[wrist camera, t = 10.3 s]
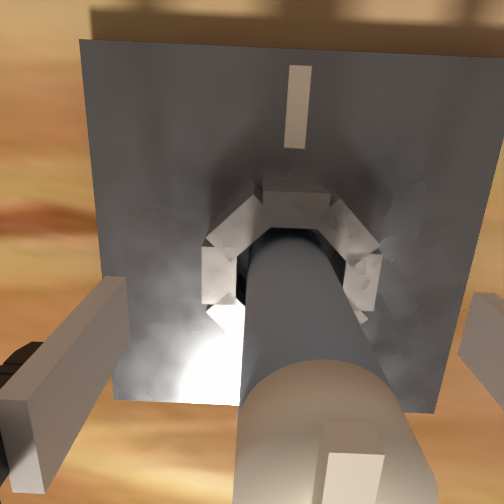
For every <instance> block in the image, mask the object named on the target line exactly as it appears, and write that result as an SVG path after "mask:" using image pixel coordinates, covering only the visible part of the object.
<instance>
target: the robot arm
mask: <svg viewBox="0 0 504 504" xmlns="http://www.w3.org/2000/svg"><path fill="white" fill-rule="evenodd" d="M130 340H131V339H130V326H129V312H128V299H127V286H126V277H117V276H105V277H104V278H103V279H102V280H101V281H100V282H99V283H98V285H97V286H96V287H95V288H94V289H93V290H92V291H91V292H90V293H89V294H88V295H87V296H86V297H85V299H84V300H83V301H82V302H81V303H80V304H79V305H78V306H77V307H76V308H75V309H74V310H73V311H72V313H71V314H70V315H69V316H68V317H67V318H66V319H65V320H64V321H63V322H62V323H61V324H60V325H59V327H58V328H57V329H56V330H55V331H54V332H53V333H52V334H51V335H50V336H49V337H48V338H47V339H46V341H45V342H30V343H29V344H27V345H25V346H23V347H22V348H20V349H18V350H16V351H15V352H14V353H13V354H12V355H11V356H10V357H9V358H8V359H7V360H6V361H5V362H4V363H3V365H1V366H0V486H1V485H2V483H3V482H4V481H5V479H6V478H7V476H8V475H9V478H10V482H11V487H12V491H13V492H14V493H37V494H45V493H46V491H47V489H48V487H49V485H50V484H51V482H52V480H53V478H54V477H55V475H56V473H57V471H58V469H59V468H60V466H61V464H62V462H63V460H64V459H65V457H66V455H67V453H68V451H69V450H70V448H71V446H72V444H73V442H74V441H75V439H76V437H77V435H78V433H79V432H80V430H81V428H82V426H83V425H84V423H85V421H86V419H87V417H88V416H89V414H90V412H91V410H92V408H93V407H94V405H95V403H96V401H97V399H98V398H99V396H100V394H101V392H102V390H103V389H104V387H105V385H106V383H107V381H108V380H109V378H110V376H111V374H112V372H113V371H114V369H115V367H116V365H117V364H118V362H119V360H120V358H121V356H122V355H123V353H124V351H125V349H126V347H127V346H128V344H129V342H130ZM458 355H459V357H460V358H461V359H462V360H463V361H464V363H465V364H466V365H467V366H468V367H469V369H470V370H471V371H472V372H473V374H474V375H475V376H476V377H477V378H478V380H479V381H480V382H481V383H482V384H483V386H484V387H485V388H486V389H487V390H488V392H489V393H490V394H491V395H492V397H493V398H494V399H495V400H496V401H497V403H498V404H499V405H500V406H501V407H502V409H503V410H504V300H503V299H501V298H500V297H499V296H497V295H496V294H495V293H482V292H474V294H473V298H472V301H471V305H470V309H469V313H468V317H467V321H466V324H465V328H464V332H463V336H462V340H461V343H460V347H459V351H458ZM0 504H1V502H0Z"/></svg>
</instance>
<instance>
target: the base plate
mask: <svg viewBox="0 0 504 504" xmlns="http://www.w3.org/2000/svg"><path fill="white" fill-rule="evenodd" d="M79 44H80V55H81V65H82V75H83V85H84V96H85V106H86V116H87V126H88V137H89V147H90V157H91V167H92V177H93V188H94V198H95V208H96V218H97V229H98V239H99V249H100V259H101V269H102V279H103V278H104V277H105V276H117V277H126V286H127V299H128V312H129V326H130V339H131V340H130V342H129V344H128V346H127V347H126V349H125V351H124V353H123V355H122V356H121V358H120V360H119V362H118V364H117V365H116V367H115V369H114V371H113V372H112V382H113V392H114V400H132V401H155V402H178V403H201V404H224V405H239V395H240V380H241V365H242V350H243V334H244V319H245V304H246V288H247V273H248V258H249V250H250V247H251V244H252V243H253V242H254V241H255V240H257V239H258V238H259V237H260V236H261V235H262V234H263V233H265V232H266V231H267V230H268V229H269V228H270V227H279V228H302V229H310V230H311V231H312V232H313V233H314V234H315V235H316V236H317V238H318V239H319V241H320V243H321V245H322V247H323V249H324V251H325V253H326V255H327V257H328V259H329V261H330V263H331V265H332V268H333V270H334V272H335V274H336V276H337V278H338V280H339V282H340V284H341V286H342V288H343V290H344V292H345V294H346V296H347V298H348V300H349V302H350V304H351V306H352V308H353V311H354V313H355V315H356V317H357V319H358V321H359V323H360V325H361V327H362V329H363V331H364V333H365V335H366V337H367V339H368V341H369V343H370V345H371V347H372V349H373V351H374V354H375V356H376V358H377V360H378V362H379V364H380V366H381V368H382V370H383V372H384V374H385V376H386V378H387V380H388V382H389V384H390V386H391V388H392V390H393V392H394V394H395V397H396V399H397V401H398V403H399V405H400V407H401V409H402V411H403V412H408V413H431V414H434V411H435V407H436V403H437V399H438V395H439V391H440V387H441V383H442V379H443V375H444V371H445V367H446V363H447V359H448V355H449V351H450V348H451V344H452V340H453V336H454V332H455V328H456V324H457V320H458V316H459V312H460V308H461V304H462V300H463V296H464V292H465V288H466V284H467V280H468V276H469V272H470V268H471V264H472V260H473V257H474V253H475V249H476V245H477V241H478V237H479V233H480V229H481V225H482V221H483V217H484V213H485V209H486V205H487V201H488V197H489V193H490V189H491V185H492V181H493V177H494V173H495V169H496V165H497V162H498V158H499V154H500V150H501V146H502V142H503V138H504V58H489V57H466V56H444V55H422V54H399V53H377V52H355V51H332V50H310V49H288V48H265V47H243V46H221V45H198V44H176V43H154V42H131V41H109V40H87V39H79Z"/></svg>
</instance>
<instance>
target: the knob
mask: <svg viewBox="0 0 504 504" xmlns="http://www.w3.org/2000/svg"><path fill="white" fill-rule="evenodd" d="M437 502H438V490H437V484H436V480H435V478H434V475H433V472H432V470H431V468H430V466H429V464H428V462H427V460H426V458H425V456H424V454H423V452H422V450H421V448H420V446H419V444H418V442H417V440H416V437H415V435H414V433H413V431H412V429H411V427H410V425H409V423H408V421H407V419H406V417H405V415H404V413H403V411H402V409H401V407H400V405H399V403H398V401H397V399H396V397H395V394H394V392H393V390H392V388H391V386H390V384H389V382H388V380H387V378H386V376H385V374H384V372H383V370H382V368H381V366H380V364H379V362H378V360H377V358H376V356H375V354H374V351H373V349H372V347H371V345H370V343H369V341H368V339H367V337H366V335H365V333H364V331H363V329H362V327H361V325H360V323H359V321H358V319H357V317H356V315H355V313H354V311H353V308H352V306H351V304H350V302H349V300H348V298H347V296H346V294H345V292H344V290H343V288H342V286H341V284H340V282H339V280H338V278H337V276H336V274H335V272H334V270H333V268H332V265H331V263H330V261H329V259H328V257H327V255H326V253H325V251H324V249H323V247H322V245H321V243H320V241H319V239H318V238H317V236H316V235H315V234H314V233H313V232H312V231H311V230H310V229H302V228H279V227H270V228H269V229H268V230H267V231H266V232H265V233H263V234H262V235H261V236H260V237H259V238H258V239H257V240H255V241H254V242H253V243H252V244H251V247H250V250H249V258H248V273H247V288H246V304H245V319H244V334H243V350H242V365H241V380H240V395H239V411H238V426H237V441H236V457H235V472H234V487H233V504H437Z"/></svg>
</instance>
